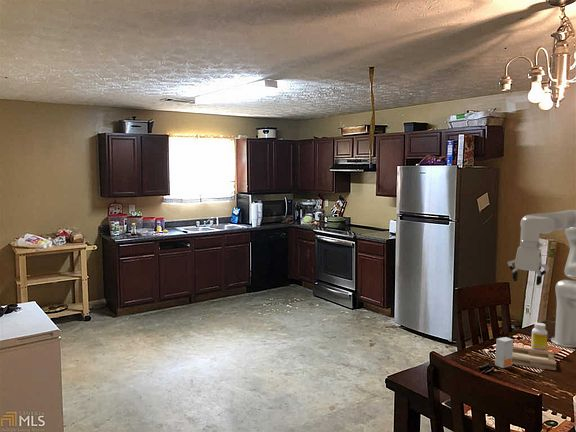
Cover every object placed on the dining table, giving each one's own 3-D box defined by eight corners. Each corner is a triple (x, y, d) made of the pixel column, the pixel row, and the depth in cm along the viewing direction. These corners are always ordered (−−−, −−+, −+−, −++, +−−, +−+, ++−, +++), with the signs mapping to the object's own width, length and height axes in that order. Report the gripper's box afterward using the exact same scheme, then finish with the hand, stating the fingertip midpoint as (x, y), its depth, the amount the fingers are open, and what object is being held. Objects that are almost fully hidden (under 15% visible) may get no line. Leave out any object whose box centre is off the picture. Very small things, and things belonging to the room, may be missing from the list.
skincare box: (502, 368, 210) (504, 341, 209) (494, 365, 214) (495, 338, 212) (512, 366, 213) (513, 339, 211) (504, 362, 216) (505, 336, 215)
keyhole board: (504, 350, 231) (504, 345, 230) (552, 357, 223) (552, 351, 223) (504, 362, 216) (505, 357, 216) (556, 370, 208) (556, 364, 208)
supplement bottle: (548, 353, 227) (550, 326, 226) (533, 352, 229) (534, 325, 227) (543, 348, 234) (545, 322, 233) (529, 347, 235) (530, 321, 234)
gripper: (553, 246, 213) (550, 285, 215) (512, 242, 225) (509, 278, 227) (548, 248, 208) (545, 287, 209) (506, 243, 220) (503, 280, 221)
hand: (526, 282), depth 218 cm, fingers open, 9 cm apart
